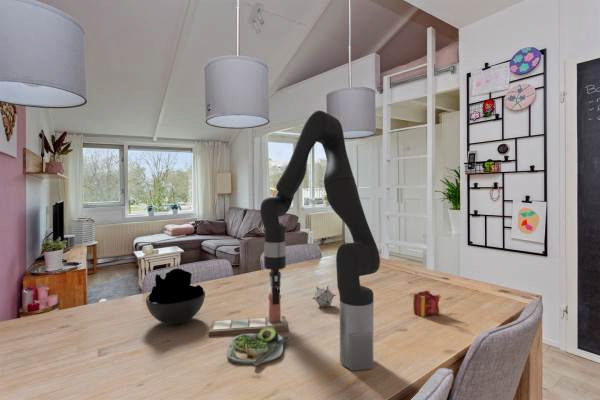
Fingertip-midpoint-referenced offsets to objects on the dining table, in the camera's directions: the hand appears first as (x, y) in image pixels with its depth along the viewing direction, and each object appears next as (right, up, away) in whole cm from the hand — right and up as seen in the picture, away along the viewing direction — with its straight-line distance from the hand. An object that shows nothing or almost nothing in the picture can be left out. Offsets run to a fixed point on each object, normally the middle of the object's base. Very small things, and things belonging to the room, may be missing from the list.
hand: (275, 299), depth 116 cm
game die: (+18, -9, +19) cm, 28 cm away
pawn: (0, -8, 0) cm, 8 cm away
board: (-9, -9, -1) cm, 13 cm away
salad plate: (-4, -10, -16) cm, 20 cm away
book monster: (+57, -9, +8) cm, 59 cm away
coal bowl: (-36, -10, +4) cm, 37 cm away
